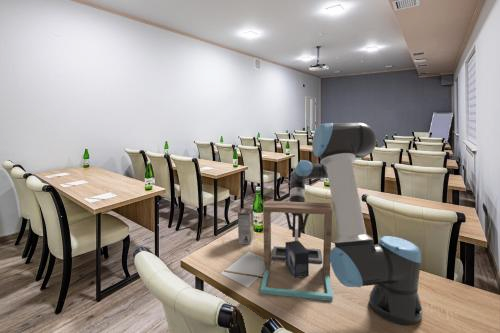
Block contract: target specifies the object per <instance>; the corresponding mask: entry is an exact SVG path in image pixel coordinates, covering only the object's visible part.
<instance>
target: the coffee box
mask: <svg viewBox="0 0 500 333" xmlns="http://www.w3.org/2000/svg"><path fill="white" fill-rule="evenodd" d="M254 227H255V225H254V208H245V207H244V208H242V207H241V209H240V210H239V212H238V213H237V229H238V230H237V231H238V232H237V233H238V234H237V236H238V237H237V239H238V244H240V245H242V244H243V245H251V244H252V242H253V240H254V232H255V231H254V229H255V228H254Z"/></svg>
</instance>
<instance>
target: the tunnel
mask: <svg viewBox="0 0 500 333" xmlns="http://www.w3.org/2000/svg"><path fill="white" fill-rule="evenodd" d="M262 212H263V272H265V270H269V271H270V269H271V264H272V226H271V225H272V217H271V216H272V214H271V213H281V214H282V213H283V214H285V213H288V214H291V213H303V214H302V215H304V214H310V215H324V222H323V252H322V254H323V256H322V269H323V277H324V278H325V275H329V279H331V262H330V251H331V250H332V231H333V230H332V228H333V206H332V205H331V202H310V201H309V202H306V201H305V202H290V201H282V200H279V201H277V200H266V201H265V202H264V205H263V210H262Z"/></svg>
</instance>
